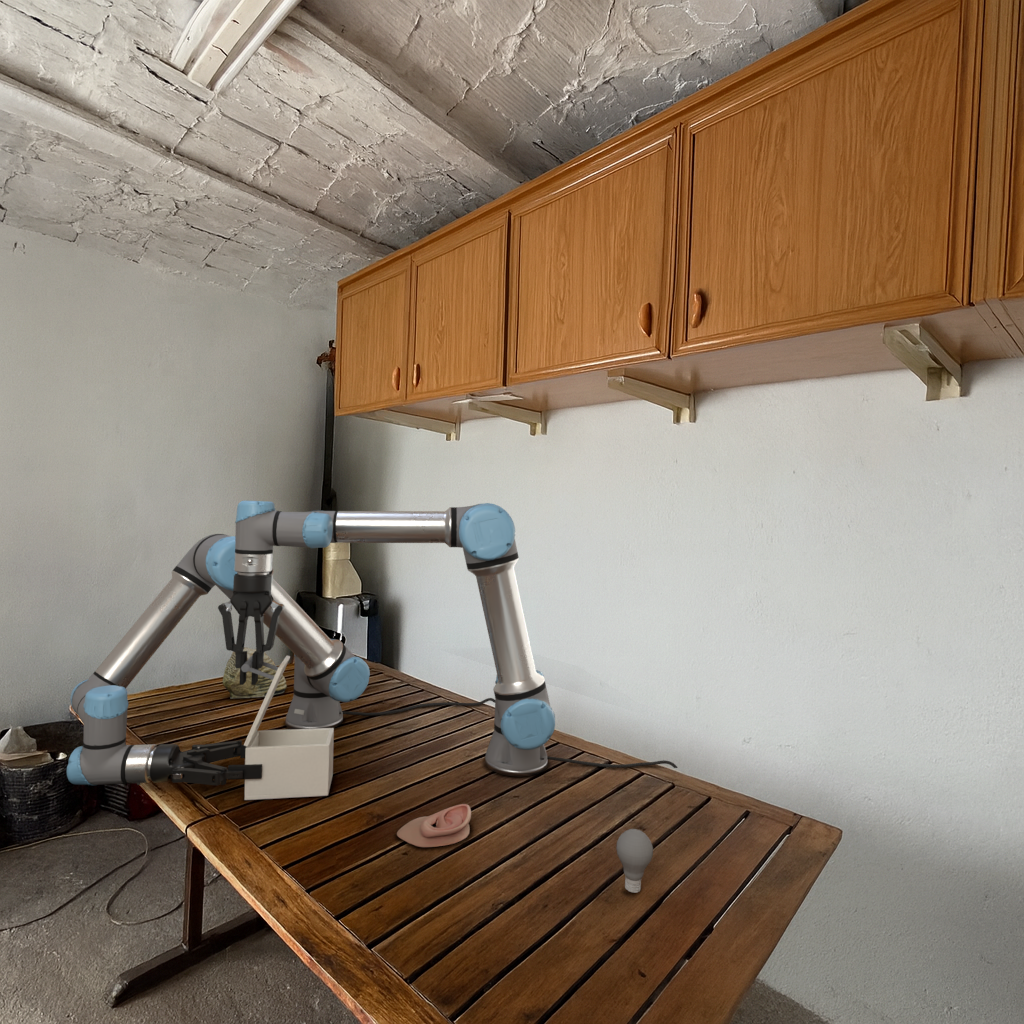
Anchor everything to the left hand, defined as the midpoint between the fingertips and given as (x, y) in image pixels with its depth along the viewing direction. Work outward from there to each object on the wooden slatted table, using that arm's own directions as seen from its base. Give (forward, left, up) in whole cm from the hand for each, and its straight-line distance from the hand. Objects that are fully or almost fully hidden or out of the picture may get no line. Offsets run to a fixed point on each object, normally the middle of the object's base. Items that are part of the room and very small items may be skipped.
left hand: (266, 760), depth 136 cm
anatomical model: (-12, +39, -6) cm, 42 cm away
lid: (0, 0, +13) cm, 13 cm away
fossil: (-31, -60, -6) cm, 68 cm away
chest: (-4, +3, -6) cm, 8 cm away
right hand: (+3, -3, +17) cm, 17 cm away
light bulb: (-22, +76, -6) cm, 80 cm away
